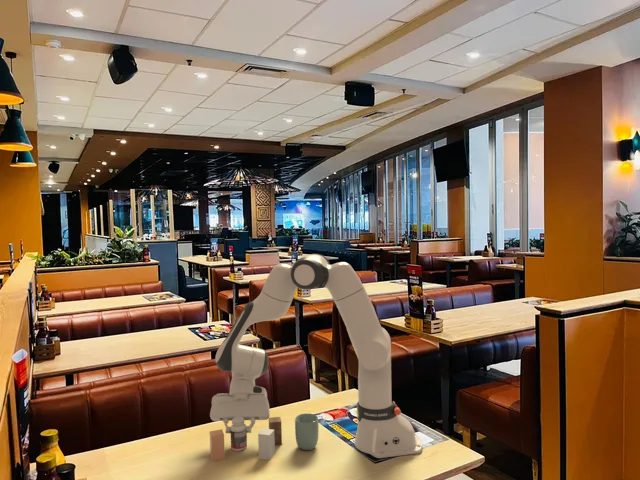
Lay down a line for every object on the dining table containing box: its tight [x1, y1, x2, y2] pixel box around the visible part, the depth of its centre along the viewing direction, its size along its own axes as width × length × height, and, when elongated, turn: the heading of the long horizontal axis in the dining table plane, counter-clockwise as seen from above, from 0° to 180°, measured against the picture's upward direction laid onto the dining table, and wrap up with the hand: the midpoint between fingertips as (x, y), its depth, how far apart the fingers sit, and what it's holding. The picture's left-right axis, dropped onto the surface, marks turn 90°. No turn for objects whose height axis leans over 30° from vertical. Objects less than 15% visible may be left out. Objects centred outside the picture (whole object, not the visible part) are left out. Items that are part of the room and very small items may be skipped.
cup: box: [294, 413, 320, 451], centre depth 158 cm, size 8×8×10 cm
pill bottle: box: [230, 417, 248, 452], centre depth 159 cm, size 5×5×10 cm
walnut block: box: [268, 416, 283, 446], centre depth 162 cm, size 4×4×8 cm
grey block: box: [257, 428, 276, 461], centre depth 153 cm, size 4×4×8 cm
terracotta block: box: [209, 428, 226, 462], centre depth 153 cm, size 4×4×8 cm
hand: (238, 432), depth 158 cm, fingers open, 5 cm apart
